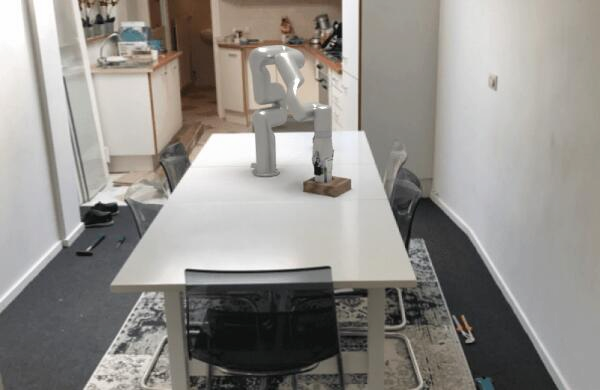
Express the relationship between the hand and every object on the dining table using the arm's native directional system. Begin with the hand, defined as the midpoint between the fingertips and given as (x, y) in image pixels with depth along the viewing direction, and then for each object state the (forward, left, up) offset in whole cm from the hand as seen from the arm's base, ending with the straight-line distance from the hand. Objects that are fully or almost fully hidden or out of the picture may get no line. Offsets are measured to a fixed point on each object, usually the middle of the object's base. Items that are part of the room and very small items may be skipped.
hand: (323, 172), depth 284 cm
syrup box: (0, 0, -8) cm, 8 cm away
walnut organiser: (+2, 0, -8) cm, 8 cm away
